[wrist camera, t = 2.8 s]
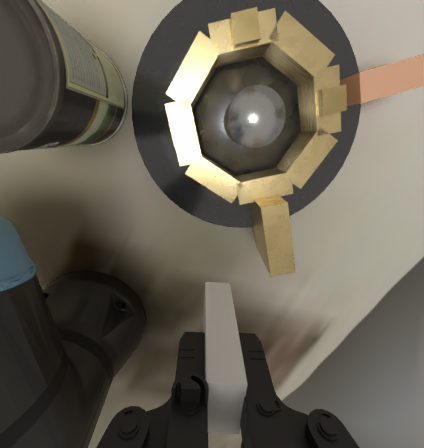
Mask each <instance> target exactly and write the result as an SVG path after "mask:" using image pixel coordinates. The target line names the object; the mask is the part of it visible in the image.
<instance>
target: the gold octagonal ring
mask: <svg viewBox="0 0 424 448" xmlns="http://www.w3.org/2000/svg"><path fill="white" fill-rule="evenodd" d="M334 56H335V54H334V53H333V52H332V51H330V50H329V49H328V48H327V47H326V46H325V45H324V44H323V43H321V42H320V41H319V40H318V39H317V38H316V37H315V36H314V35H312V34H311V33H310V32H309V31H308V30H307V29H306V28H305V27H303V26H302V25H301V24H300V23H299V22H298V21H297V20H296V19H294V18H293V17H292V16H291V15H290V14H289V13H288V12H287V11H284V13H283V14H282V16H281V18H280V19H279V21H278V22H276V12H275V8H272V9H268V10H264V11H260V12H258V10H257V7H255V8H251V9H246V10H242V11H238V12H234V13H231V14H230V19H226V20H222V21H218V22H213V23H209V24H208V33H207V36H205V35H204V34H203V33H202V32H200V31H199V32H198V34H197V36H196V38H195V40H194V42H193V43H192V45H191V47H190V49H189V51H188V53H187V55H186V57H185V58H184V60H183V62H182V64H181V66H180V68H179V70H178V72H177V73H176V75H175V77H174V79H173V81H172V83H171V85H170V86H169V88H168V90H167V92H166V95H167V96H168V97H169V98H170V99H171V100H172V101H173V102H172V103H168V104H165V108H166V112H167V116H168V120H169V126H170V130H171V134H172V138H173V142H174V146H175V149H176V153H177V157H178V161H179V165H180V166H184V165H188V164H190V165H189V167H188V169H187V171H186V173H185V174H186V175H188V176H189V177H191V178H193V179H194V180H196V181H197V182H199V183H200V184H202V185H203V186H205V187H207V188H208V189H210V190H211V191H213V192H214V193H216V194H218V195H219V196H221V197H222V198H224V199H225V200H227V201H228V202H230V203H232V202H233V201H234V199H235V198H236V199H237V201H238V203H239V204H240V205H242V204H247V203H249V204H250V210H251V216H252V223H253V229H254V235H255V241H256V247H257V249H258V251H259V253H260V255H261V257H262V259H263V261H264V263H265V265H266V268H267V270H268V272H269V274H270V276H271V277H272V276H277V275H282V274H287V273H292V272H295V264H294V255H293V246H292V236H291V227H290V217H289V208H288V202H287V201H285V200H284V199H283V198H281V197H280V196H285V195H290V194H293V185H294V186H296V187H298V188H300V189H301V188H302V187H303V185H304V184H305V183H306V182H307V180H308V179H309V178H310V176H311V175H312V174H313V173H314V171H315V170H316V169H317V167H318V166H319V165H320V163H321V162H322V161H323V160H324V158H325V157H326V156H327V154H328V153H329V152H330V150H331V149H332V148H333V147H334V145H335V144H336V143H337V141H338V140H337V139H335V138H334V137H333V136H332V135H330V134H331V133H336V132H340V131H341V112H342V111H346V110H347V93H346V84H345V85H341V86H340V71H339V65H335V66H330V67H327V66H328V65H329V63H330V62H331V60H332V59H333V57H334ZM258 57H263V58H264V59H265V60H267V61H268V62H269V63H270V64H272V65H273V66H274V67H275V68H276V69H278V70H279V71H280V72H281V73H283V74H284V75H285V76H286V77H287V78H289V79H290V80H291V81H292V82H294V83H295V84H296V85H297V91H298V103H299V116H300V128H301V132H300V134H299V135H298V137H297V138H296V139H295V141H294V142H293V144H292V145H291V146H290V148H289V149H288V150H287V152H286V153H285V155H284V156H283V157H282V159H281V160H280V162H279V163H278V164H277V166H276V167H275V168H271V169H267V170H262V171H257V172H253V173H248V174H243V175H239V176H234V175H233V174H232V173H230V172H229V171H227V170H226V169H224V168H223V167H221V166H220V165H218V164H217V163H215V162H214V161H212V160H211V159H209V158H208V157H206V156H205V155H203V154H202V152H201V147H200V143H199V138H198V133H197V129H196V124H195V119H194V115H193V110H192V109H193V107H194V105H195V103H196V102H197V100H198V98H199V97H200V95H201V93H202V91H203V90H204V88H205V86H206V84H207V83H208V81H209V79H210V77H211V76H212V74H213V72H214V70H215V69H216V67H219V66H223V65H228V64H232V63H236V62H241V61H245V60H249V59H254V58H258Z"/></svg>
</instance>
